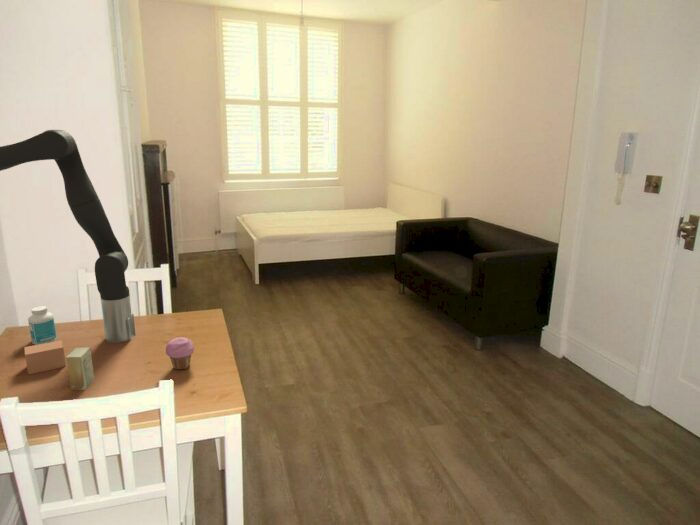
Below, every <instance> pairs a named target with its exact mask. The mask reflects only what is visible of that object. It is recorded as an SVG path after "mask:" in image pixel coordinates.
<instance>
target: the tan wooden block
mask: <svg viewBox="0 0 700 525" xmlns="http://www.w3.org/2000/svg"><path fill="white" fill-rule="evenodd" d="M64 350H65V349H64V345H63V340H62V339H61V340H55V341H53V342H50V343H44V344H39V345H35V344H33V345H29V346H24V358H25V364H26V369H27V374H28V375H31V374H36V373H40V372H45V371H50V370H56V369H60V368H63V367H67V362H66V356H65V351H64Z"/></svg>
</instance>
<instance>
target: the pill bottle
mask: <svg viewBox="0 0 700 525" xmlns="http://www.w3.org/2000/svg"><path fill="white" fill-rule="evenodd" d="M27 321H28V327H29V334H30V337H31V338H30V339H31V343H32V345H39V344H44V343H50V342H55V341H57V331H56V325H55V324H56V323H55V317H54V315H53V313H51V312H50V311H49V310H48V306H44V305H41V306H35V307H33V308H31V315H29V316H28V319H27Z"/></svg>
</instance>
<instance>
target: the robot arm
mask: <svg viewBox="0 0 700 525" xmlns="http://www.w3.org/2000/svg"><path fill="white" fill-rule="evenodd" d="M48 160H49V161H50V160H54V161H55V163H56V165H57V167H58V169H59V170H60V173H61V176H62V179H63V185H64V191H65V192H64V193H65V197H66V201H67V205H68V206H69V208H70V211H71V213H72V215H73V217H74V219H75V221H76V222H77V224H78V226H80V227H81V228H82V230H83V231H84V232H85V233H86V234H87V236H89V237H90V239H91V240H92V242H93V244H94V246H95V248H96V251H97V254H98V257H97V259H96V260H95V263H94V276H95V281H96V287H97V291H98V293H99V296H100V304H101V314H102V321H103V329H104V338H105V341H106V342H107V343H111V344H117V343H118V344H119V343H124V342H127V341H132V340H133V338H134V337H136V336H137V335H136V326H135V316H134V312H132V307H131V306H132V304H131V294H130V289H129V286H127V283H126V276H125V272H126V271H127V269H128V267H129V260H128V256H127V254H126V253H125V251H124V249H123V248H122V246H121V244H120V242H119V241H118V239H117V237H116V235H115V233H114V231H113V229H112V226H111V223H110V221H109V219H108V216H107V213H106V212H105V210H104V207H103V203H102V202H101V199H100V197H99V196H98V193H97V192H96V189H95V187H94V185H93V183H92V181H91V178H90V176H89V174H88V173H87V171H86V169H85V165H84V164H83V161H82V157H81V154H80V150H79V148H78V144H77V143H76V140H75V138H74V137H73V135H71V134H70V133H69V132H67V131H66V130H63V129H62V130H61V129H46V130H45V131H43V132H41V133H38V134H36V135H34V136H31V137H30V138H28V139H27V138H26V139H25V140H23V141H22V140H21V141H18V142H15V143H11V144H7V145H3V146H0V172H1V171H5V170H8V169H11V168H14V167H17V166H20V165H22V164H26V163H31V162H38V161H48Z"/></svg>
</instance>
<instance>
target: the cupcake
mask: <svg viewBox="0 0 700 525" xmlns="http://www.w3.org/2000/svg"><path fill="white" fill-rule="evenodd" d="M194 350H195V344H194V342H193V341H192V340H191V339H189V338H187V337H184V336H183V337H182V336H181V337H179V336H178V337H176V338H173V339H172V338H171V340H169V341H168V342H167V344H166V346H165V354H166V355H167V357H169V359H170V361H171V365H172V367H173V369H175V370H186V369H188V368H189V366H190V363H191V359H192V358H191V357H192V354H193V353H194V352H195V351H194Z"/></svg>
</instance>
